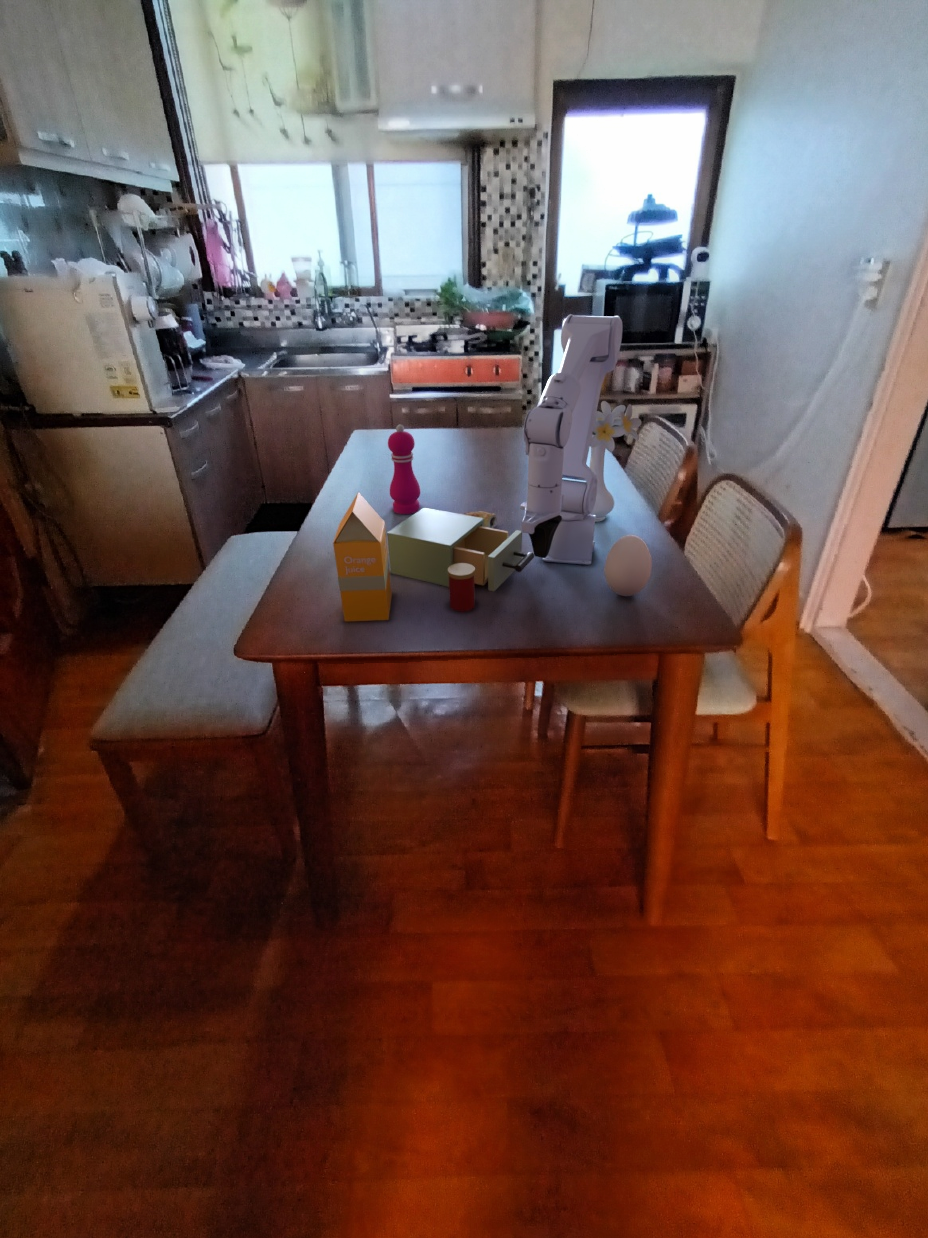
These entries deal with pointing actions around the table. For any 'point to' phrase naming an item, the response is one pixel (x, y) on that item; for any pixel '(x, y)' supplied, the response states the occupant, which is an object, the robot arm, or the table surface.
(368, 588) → the orange juice
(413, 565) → the cabinet
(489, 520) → the pastry
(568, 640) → the table surface
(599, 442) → the flower vase
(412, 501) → the pepper mill
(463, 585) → the tea tin
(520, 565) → the drawer
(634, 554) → the egg
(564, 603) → the table surface
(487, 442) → the table surface
